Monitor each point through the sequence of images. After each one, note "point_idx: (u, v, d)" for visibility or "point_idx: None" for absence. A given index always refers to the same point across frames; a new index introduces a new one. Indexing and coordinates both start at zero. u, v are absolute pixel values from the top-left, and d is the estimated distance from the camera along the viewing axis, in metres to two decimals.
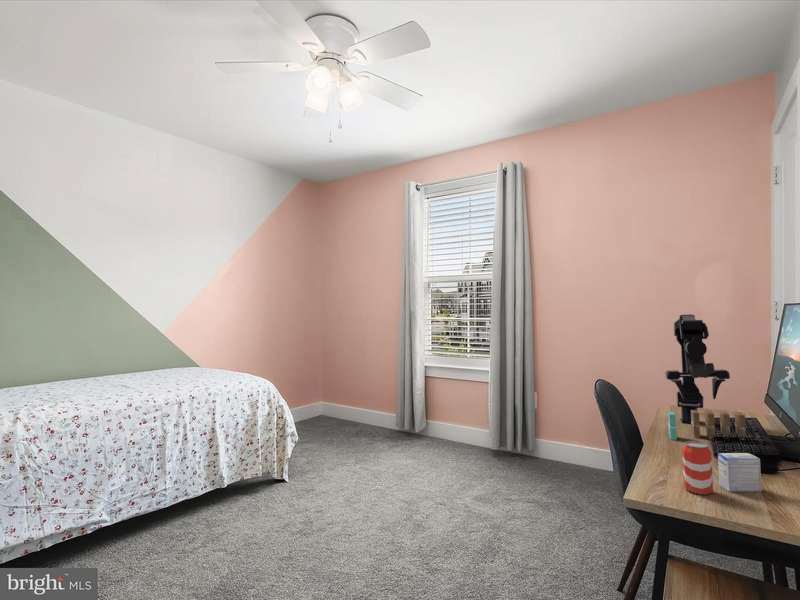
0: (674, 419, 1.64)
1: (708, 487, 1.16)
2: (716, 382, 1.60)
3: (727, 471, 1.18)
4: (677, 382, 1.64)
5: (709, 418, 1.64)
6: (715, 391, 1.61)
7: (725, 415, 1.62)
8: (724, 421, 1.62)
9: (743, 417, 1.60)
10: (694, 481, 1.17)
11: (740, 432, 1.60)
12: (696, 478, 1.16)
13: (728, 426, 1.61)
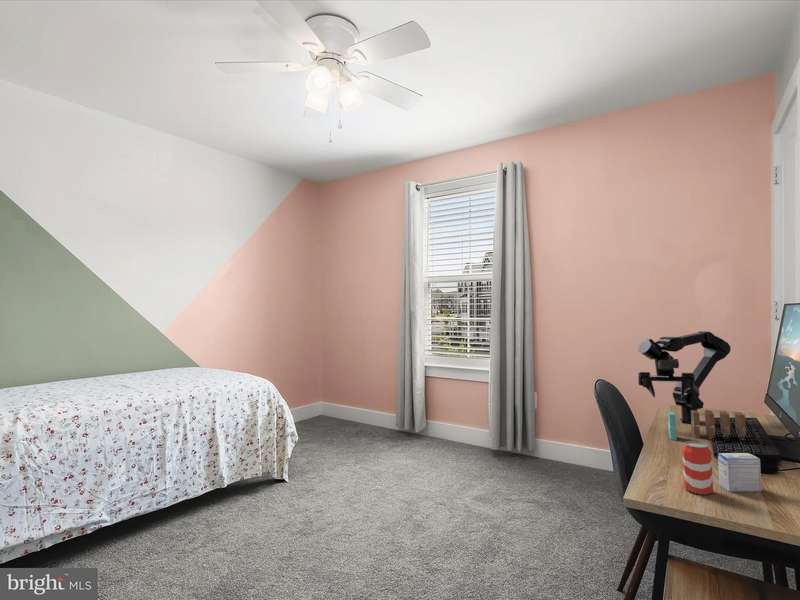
0: (674, 419, 1.64)
1: (708, 487, 1.16)
2: (683, 381, 1.74)
3: (727, 471, 1.18)
4: (647, 379, 1.78)
5: (709, 418, 1.64)
6: (682, 390, 1.72)
7: (725, 415, 1.62)
8: (724, 421, 1.62)
9: (743, 417, 1.60)
10: (694, 481, 1.17)
11: (740, 432, 1.60)
12: (696, 478, 1.16)
13: (728, 426, 1.61)
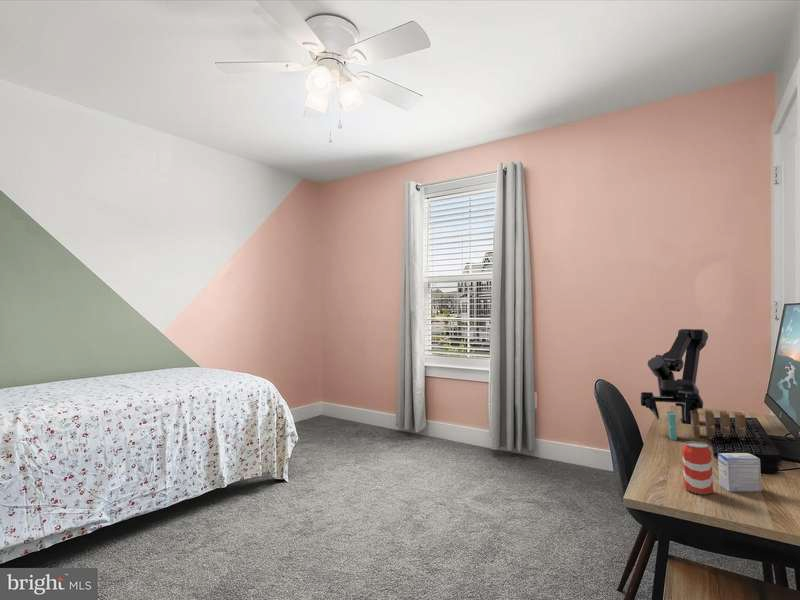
0: (674, 419, 1.64)
1: (708, 487, 1.16)
2: (686, 402, 1.66)
3: (727, 471, 1.18)
4: (651, 400, 1.70)
5: (709, 418, 1.64)
6: (686, 412, 1.64)
7: (725, 415, 1.62)
8: (724, 421, 1.62)
9: (743, 417, 1.60)
10: (694, 481, 1.17)
11: (740, 432, 1.60)
12: (696, 478, 1.16)
13: (728, 426, 1.61)
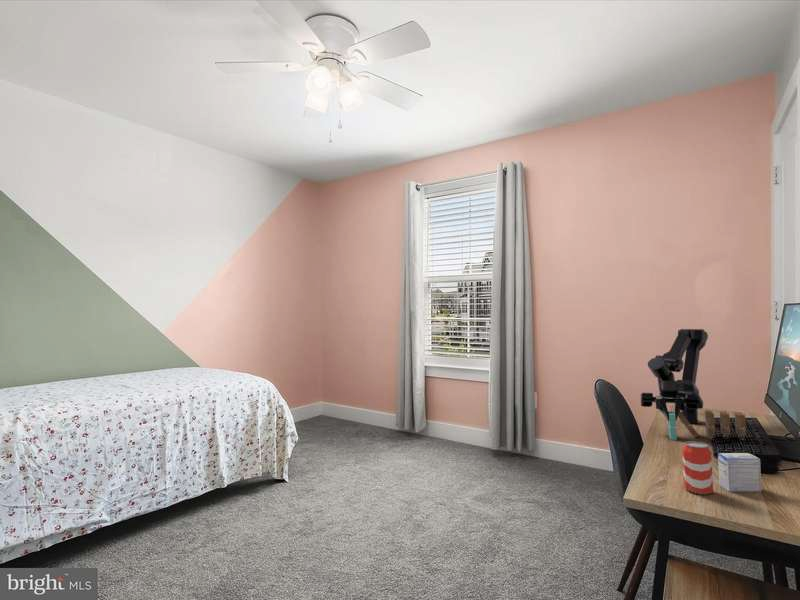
0: (674, 419, 1.64)
1: (708, 487, 1.16)
2: (676, 402, 1.67)
3: (727, 471, 1.18)
4: (661, 401, 1.69)
5: (709, 418, 1.64)
6: (676, 412, 1.66)
7: (725, 415, 1.62)
8: (724, 421, 1.62)
9: (743, 417, 1.60)
10: (694, 481, 1.17)
11: (740, 432, 1.60)
12: (696, 478, 1.16)
13: (728, 426, 1.61)
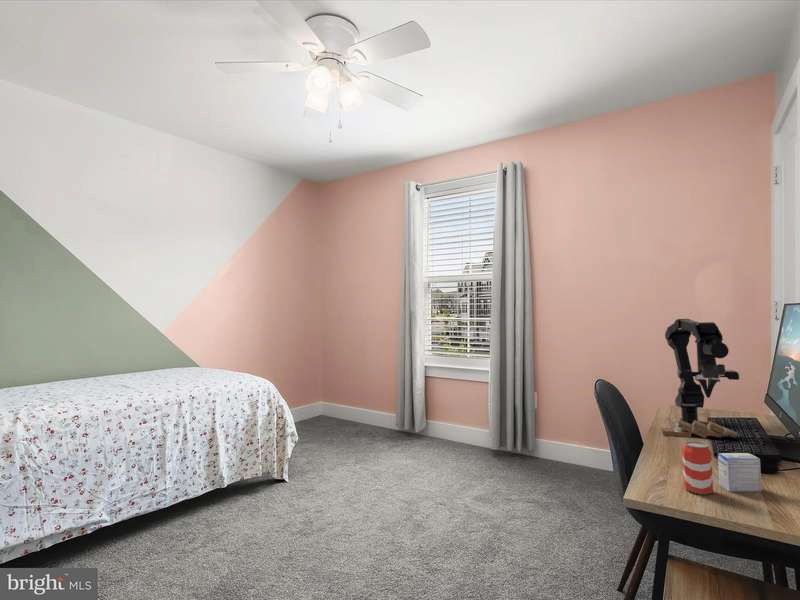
0: None
1: (708, 487, 1.16)
2: (711, 382, 1.70)
3: (727, 471, 1.18)
4: (702, 381, 1.71)
5: (683, 428, 1.68)
6: (710, 390, 1.71)
7: (694, 425, 1.66)
8: (700, 429, 1.65)
9: (713, 425, 1.64)
10: (694, 481, 1.17)
11: None
12: (696, 478, 1.16)
13: (707, 429, 1.64)
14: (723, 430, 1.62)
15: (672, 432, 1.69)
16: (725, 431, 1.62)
